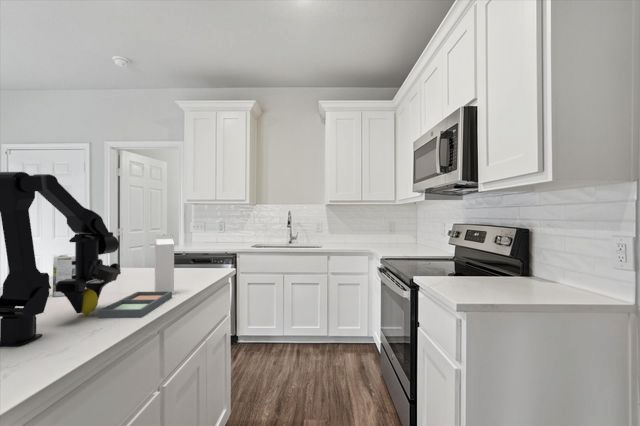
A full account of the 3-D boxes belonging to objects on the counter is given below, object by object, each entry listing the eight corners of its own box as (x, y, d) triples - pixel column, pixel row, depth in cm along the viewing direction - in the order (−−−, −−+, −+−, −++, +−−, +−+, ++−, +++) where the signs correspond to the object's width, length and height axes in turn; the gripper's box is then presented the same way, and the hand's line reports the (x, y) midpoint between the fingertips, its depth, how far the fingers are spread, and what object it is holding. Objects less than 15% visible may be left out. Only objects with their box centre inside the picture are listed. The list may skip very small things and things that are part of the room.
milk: (154, 293, 131) (154, 235, 131) (171, 291, 134) (171, 234, 135) (156, 296, 126) (156, 235, 126) (174, 294, 129) (174, 235, 129)
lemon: (86, 318, 99) (86, 290, 99) (70, 317, 100) (70, 289, 100) (102, 313, 105) (102, 286, 105) (86, 312, 106) (87, 285, 106)
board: (141, 317, 101) (141, 309, 101) (98, 317, 100) (98, 310, 100) (171, 297, 125) (171, 291, 125) (137, 297, 124) (137, 291, 124)
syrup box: (56, 293, 130) (56, 254, 130) (75, 292, 132) (75, 254, 132) (52, 297, 124) (52, 256, 124) (72, 295, 127) (72, 255, 127)
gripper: (96, 260, 94) (96, 318, 94) (130, 253, 112) (130, 301, 112) (53, 261, 93) (53, 319, 93) (94, 253, 112) (94, 301, 112)
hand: (86, 309), depth 103 cm, fingers open, 7 cm apart
